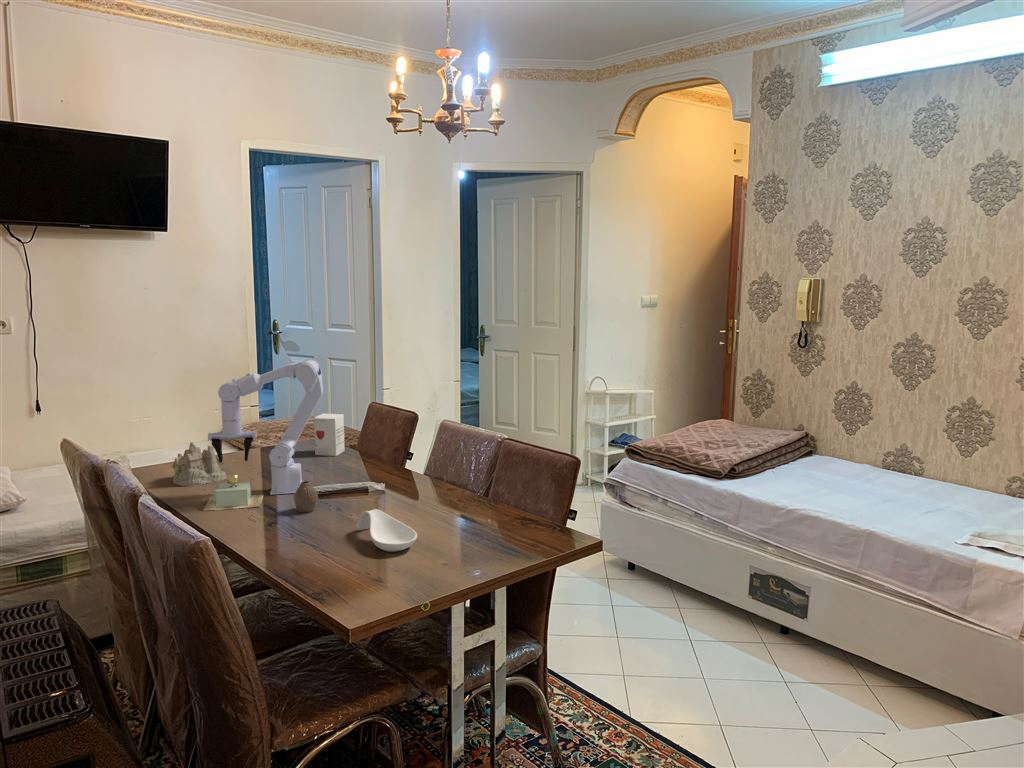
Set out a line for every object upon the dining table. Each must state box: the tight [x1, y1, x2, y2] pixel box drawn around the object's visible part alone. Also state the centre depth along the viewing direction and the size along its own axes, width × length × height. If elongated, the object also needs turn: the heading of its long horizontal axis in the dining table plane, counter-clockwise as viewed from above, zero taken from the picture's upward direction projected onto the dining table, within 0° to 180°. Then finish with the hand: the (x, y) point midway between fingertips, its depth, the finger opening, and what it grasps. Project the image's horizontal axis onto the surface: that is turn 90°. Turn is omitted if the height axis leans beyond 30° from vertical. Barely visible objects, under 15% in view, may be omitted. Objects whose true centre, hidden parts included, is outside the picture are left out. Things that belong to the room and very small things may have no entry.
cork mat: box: [203, 494, 264, 512], centre depth 230 cm, size 16×12×1 cm
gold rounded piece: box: [226, 473, 240, 487], centre depth 229 cm, size 7×7×8 cm
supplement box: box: [313, 413, 345, 457], centre depth 290 cm, size 9×9×15 cm
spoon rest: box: [355, 508, 418, 553], centre depth 197 cm, size 24×12×7 cm, turn 39°
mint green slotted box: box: [212, 480, 252, 508], centre depth 229 cm, size 10×9×5 cm
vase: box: [293, 480, 319, 513], centre depth 222 cm, size 7×7×9 cm
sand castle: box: [172, 441, 227, 487], centre depth 255 cm, size 16×16×15 cm
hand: (233, 460), depth 239 cm, fingers open, 7 cm apart
